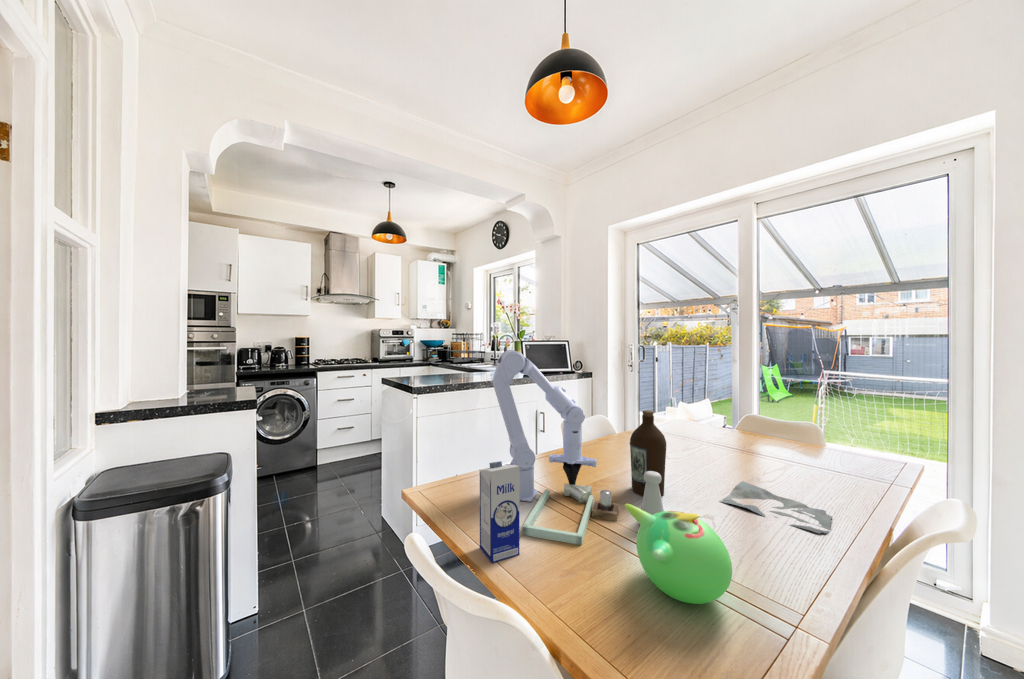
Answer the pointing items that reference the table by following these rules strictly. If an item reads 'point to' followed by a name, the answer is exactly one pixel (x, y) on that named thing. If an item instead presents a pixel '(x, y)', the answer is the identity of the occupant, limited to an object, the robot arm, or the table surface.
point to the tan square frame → (605, 512)
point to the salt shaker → (652, 493)
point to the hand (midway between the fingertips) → (572, 487)
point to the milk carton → (499, 511)
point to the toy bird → (682, 555)
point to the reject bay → (552, 533)
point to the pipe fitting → (578, 492)
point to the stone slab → (754, 492)
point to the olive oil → (647, 453)
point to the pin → (605, 500)
